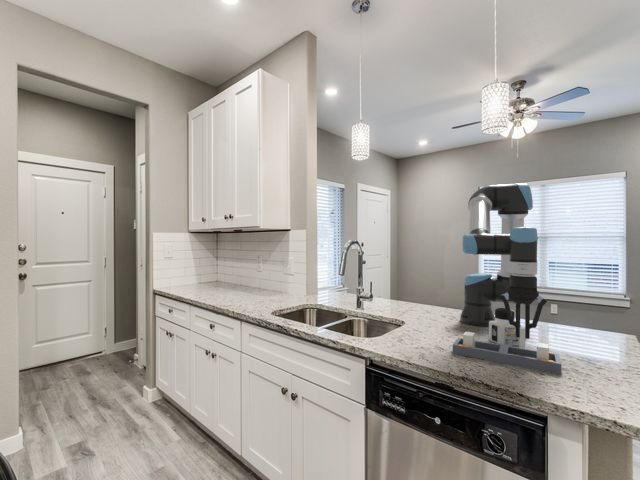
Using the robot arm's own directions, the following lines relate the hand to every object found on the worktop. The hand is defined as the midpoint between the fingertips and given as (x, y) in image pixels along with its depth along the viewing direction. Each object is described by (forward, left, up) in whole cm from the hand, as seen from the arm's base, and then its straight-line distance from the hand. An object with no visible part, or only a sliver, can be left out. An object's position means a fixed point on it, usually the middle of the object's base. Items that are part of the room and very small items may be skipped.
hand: (522, 347), depth 103 cm
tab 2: (0, +5, -3) cm, 6 cm away
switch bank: (0, -5, -4) cm, 7 cm away
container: (-19, -6, -5) cm, 20 cm away
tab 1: (0, -16, -3) cm, 16 cm away
